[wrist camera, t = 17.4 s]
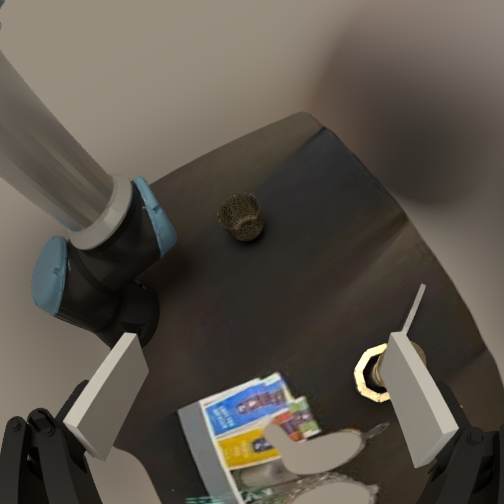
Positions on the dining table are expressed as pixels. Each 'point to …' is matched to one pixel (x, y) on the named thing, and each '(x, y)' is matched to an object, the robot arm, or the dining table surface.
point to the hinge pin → (374, 371)
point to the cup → (242, 217)
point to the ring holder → (378, 350)
